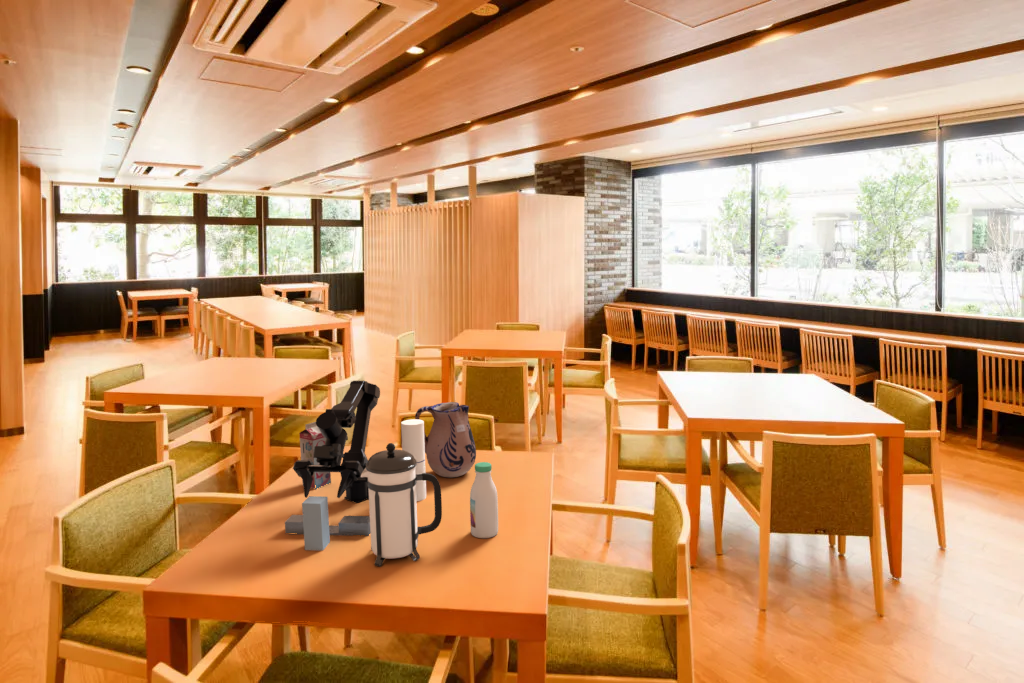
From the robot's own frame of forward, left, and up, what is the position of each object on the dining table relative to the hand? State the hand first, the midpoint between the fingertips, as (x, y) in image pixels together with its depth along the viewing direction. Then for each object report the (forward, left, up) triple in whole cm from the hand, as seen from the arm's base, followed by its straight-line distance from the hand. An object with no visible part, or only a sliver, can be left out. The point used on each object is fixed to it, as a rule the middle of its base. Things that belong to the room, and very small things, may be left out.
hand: (321, 497), depth 175 cm
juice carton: (-23, -39, -12) cm, 47 cm away
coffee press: (-7, +24, -12) cm, 28 cm away
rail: (-4, -3, -12) cm, 13 cm away
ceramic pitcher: (-58, -11, -12) cm, 60 cm away
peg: (+4, +3, -12) cm, 13 cm away
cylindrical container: (-36, -3, -12) cm, 38 cm away
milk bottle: (-30, +33, -12) cm, 46 cm away
